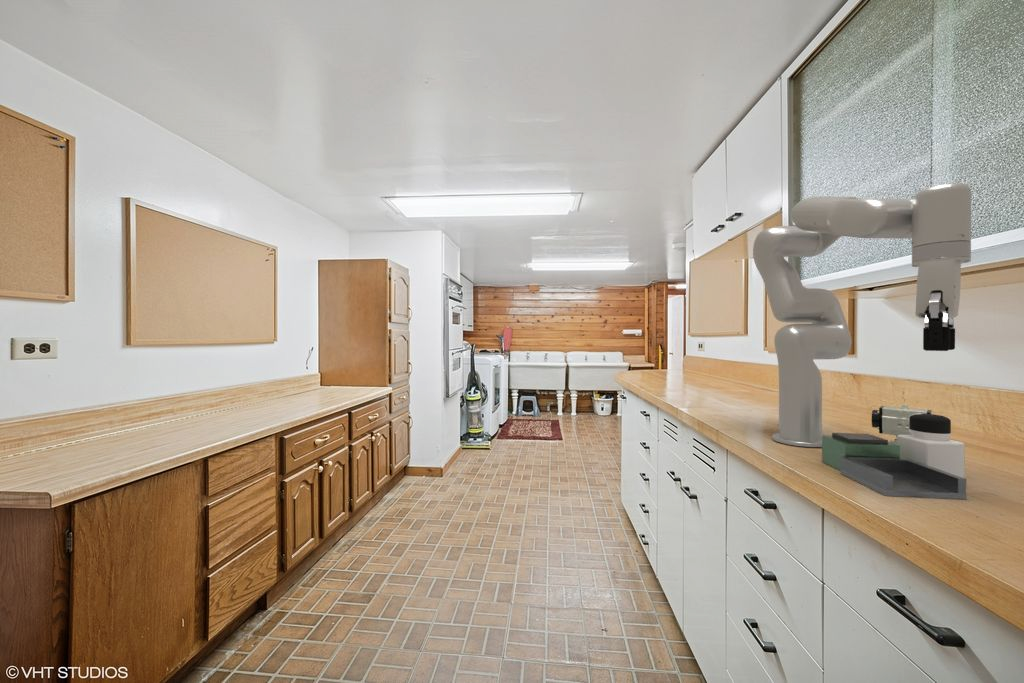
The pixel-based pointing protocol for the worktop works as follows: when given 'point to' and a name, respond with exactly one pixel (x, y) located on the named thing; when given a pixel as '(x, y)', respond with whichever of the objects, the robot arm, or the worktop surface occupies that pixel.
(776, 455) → the worktop surface
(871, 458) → the grey and green bracket
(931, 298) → the robot arm
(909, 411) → the pneumatic valve
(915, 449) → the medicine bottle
